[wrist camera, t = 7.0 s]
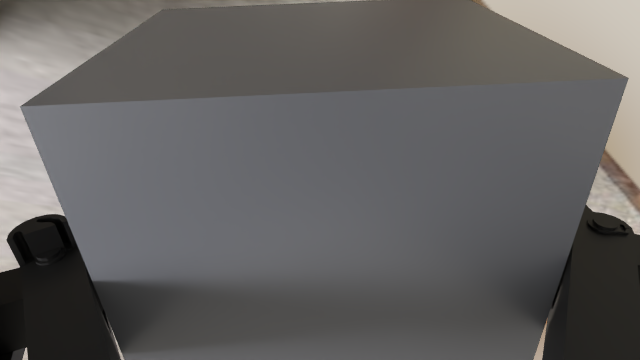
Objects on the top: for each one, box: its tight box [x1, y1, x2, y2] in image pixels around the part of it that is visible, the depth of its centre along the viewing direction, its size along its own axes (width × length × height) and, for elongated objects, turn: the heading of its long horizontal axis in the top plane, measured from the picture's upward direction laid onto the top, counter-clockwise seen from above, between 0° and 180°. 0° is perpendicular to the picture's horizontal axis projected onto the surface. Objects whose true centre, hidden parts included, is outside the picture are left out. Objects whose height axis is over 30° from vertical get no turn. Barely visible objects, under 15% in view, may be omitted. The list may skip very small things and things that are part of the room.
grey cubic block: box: [20, 0, 628, 360], centre depth 14 cm, size 10×10×9 cm
